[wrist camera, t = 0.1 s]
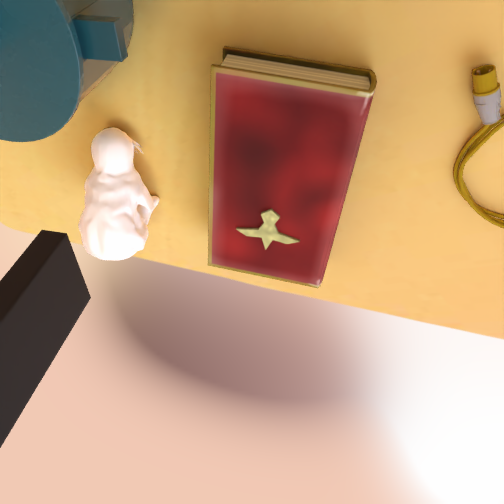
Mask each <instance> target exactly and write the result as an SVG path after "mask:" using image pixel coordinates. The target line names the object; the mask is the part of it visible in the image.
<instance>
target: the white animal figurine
mask: <svg viewBox="0 0 504 504" xmlns="http://www.w3.org/2000/svg"><path fill="white" fill-rule="evenodd" d="M134 145H135V146H136V147H137V149H139V150H140V151H141V149H140V148H139V147H138V146H140V145H139V144H138V143H137V142H135V141H134V140H133V139H131V138H130V137H129V136H128V135H127V134H126V132H124V131H121V130H120V129H118V128H115V127H111V128H106V129H103V130H102V131H100V132H99V133H98V134H97V135H96V136H95V137H94V139H93V141H92V145H91V153H92V158H93V161H94V164H95V166H94V167H93V169H92V171H91V173H90V174H89V176H88V177H87V179H86V181H85V185H84V188H85V192H86V193H85V208H84V211H83V213H82V214H81V217H80V221H79V230H80V233H81V238H82V243H83V245H84V247H85V249H86V251H87V252H88V253H89V254H90V255H92V256H95V257H97V258H99V259H101V260H123V259H127V258H129V257H131V256H132V255H134V254H135V253H136V252H137V251H139V250H143V249H144V245H145V242H146V240H147V238H148V234H149V232H148V227H147V224H148V222H149V219H150V216H151V213H152V211H153V210H154V208H155V207H156V206H157V205H158V203H159V198H158V197H157V196H151V195H150V193H149V191H148V189H147V187H146V186H145V185H144V183H143V182H142V179H141V176H140V174H139V173H138V172H137V171H136V170H135V168H134V163H133V157H134V149H135V148H134V147H135V146H134ZM140 147H142V146H140ZM141 152H142V151H141ZM138 154H139V153H138Z"/></svg>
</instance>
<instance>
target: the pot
mask: <svg viewBox="0 0 504 504" xmlns="http://www.w3.org/2000/svg"><path fill="white" fill-rule="evenodd" d="M62 2H63V4H64V5H65V7H66V9H67V11H68V13H69V16H70V18H71V20H72V23H73V25H74V27H75V30H76V34H77V37H78V40H79V43H80V47H81V53H82V58H83V68H84V82H83V91H82V96H81V100H82V99H83V98H84V97H85V96H86V95H87V94H88V93H89V92H91V91H92V90H93V89H94V88H95V87H96V86H97V85H98V84H99V83H100V82H101V81H102V80H103V79H104V78H105V77H106V76H107V75H108V74H109V73H110V72H111V71H112V70H113V68H114V67H115V66H116V65H117V63H118V62H122V61H123V60H124V59H125V58H127V57H128V54H127V48H128V46H129V43H130V39H131V36H132V30H133V3H132V0H62ZM81 100H80V101H81Z"/></svg>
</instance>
